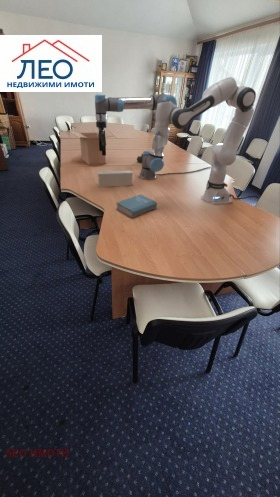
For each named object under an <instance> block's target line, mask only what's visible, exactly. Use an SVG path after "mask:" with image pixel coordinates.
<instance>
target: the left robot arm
mask: <svg viewBox="0 0 280 497" xmlns="http://www.w3.org/2000/svg"><path fill="white" fill-rule="evenodd" d="M162 100H170V101H171V102H172V103H173V104H174V105H176V106H178V101H177V99H176V97H175V96H174V95H172V94H166V93H160V94H154V95H153V94H152V95H150V96H130V97H128V96H127V97H126V96H125V97H111V96H109V97H107V95H106V94H99V93H96V94H95V95H94V109H95V127H96V128H97V129H98V132H99V136H98V140H99V141H100V142H99V151H102V155H105V156H107V139H106V138H107V137H106V138H105V133H106V130H105V129H106V128H107V127H108V123H107V122H108V121H107V120H108V119H107V118H108V115H107V113H109V112H113V113H115V112H116V113H122V112H124V110H149V111H156V109H157V105H158V103H159V102H160V101H162ZM160 149H161V148H159V149H158V156H155V151H154V149H152V148H151V150H143V152H142V154H143V155H142V154H141V156H143V158H142V163H141V169H140V172H139V178H140V179H142V180H146V181H154V180H156V178H157V176H165V175H178V174H179V175H180V174H181V175H182V172H166V173H162V174H161V173H157V172H160V171H161V170H163V168H164V166H165V162H164V160H163V159H164V156H165V155H164V154H163V153H164V152H163V153H160ZM205 169H211V166H207V167H204V168H201V169H197V170H193V171H184V172H183V174H190V173H196V172H200V171H202V170H205Z"/></svg>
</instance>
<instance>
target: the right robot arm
mask: <svg viewBox="0 0 280 497" xmlns="http://www.w3.org/2000/svg"><path fill="white" fill-rule="evenodd" d="M256 98H257V93H256V91H255V89H253V88H252V87H249V86H246V85H245V86H244V85H242V86H240V85H239V86H238V83H237V81H236V78H234V77H232V76H231V77H230V76H229V77H226V78H223V79H222V80H219V81H217V82H215V83H213V84H211V85H209V87H207V88H206V89H205V90H204V91H203V93H202V97H201V99H200V100H198V101H197V102H196V103H194V104H193V105H190V106H189V107H186V108H182V107H179V106H178V105H177V106H176V105H174V104H173V103H172V102H171V101H170V100H162V101H160V102H159V103H158V105H157V109H156V110H155V123H154V131H153V134H154V135H153V137H152V143H151V150H152V149H154V151H155V156H158V149H159V148H161V149H160V153H164V149H165V146H167V145H168V141H169V136H170V132H171V129H170V125H172V126H174V127H175V129H178V130H183V129H185V128H186V127H187V126H189V124H190V123H191V122H192V121H193V120H194V119H196V118H198V117H199V116H201V115H202V114H205V112H207V111H209V110H210V109H213V108H215V107H217V106H219V105H221V104H222V103H224V102H225V103H226V105H227V106H228V107H230V108H234V109H235V111H234V115H233V117H232V119H231V120H230V122H229V125H228V126H227V129H226V131H225V132H224V138H223V142H222V143H217V144H215V145H214V146H213V147H212V149H211V165H210V172H209V177H208V180H207V181H206V182H207V183H206V187H205V190H204V192H203V195H202V197H201V199H202V200H203V201H204V202H207V203H211V204H212V205H223V204H224V205H225V204H226V205H227V204H232V199H233V200H243V199H245V200H246V199H247V198H256V199H259V196H257V195H247V196H244V197H235V196H234V195H233V194H231V193H230V192H229V191H228V190H227V188H228V187H229V185H228V184H227V183H226V182H225V179H226V175H227V167H229V166H231V165H233V164H234V163H235V161H236V159H237V152H238V148H239V146H240V143H241V140H242V138H243V136H244V134H245V133H246V131H247V128H248V127H249V124H250V123H251V120H252V118H253V116H254V112H255V109H254V104H255V101H256ZM231 197H232V198H231Z"/></svg>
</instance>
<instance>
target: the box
mask: <svg viewBox="0 0 280 497" xmlns="http://www.w3.org/2000/svg"><path fill="white" fill-rule="evenodd" d="M70 133H71V134H72V135H74V136H75V137H77V138H79V144H80V153H81V160H83V162H85V163H86V165H87V166H95V165H97V166H98V165H106V163H107V162H106V158H107V157H106V155H102V151H99V142H100V141H99V140H98V136H99V131H98V132H96V131H95V130H92V129H91V130H77V132H76V131H70ZM113 137H114V136H113V135H111V134H109V133H108V132H105V138H113Z"/></svg>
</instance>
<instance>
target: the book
mask: <svg viewBox="0 0 280 497" xmlns="http://www.w3.org/2000/svg"><path fill="white" fill-rule="evenodd" d="M115 204H116V210H117V211H119V212H121V213H122V214H124V215H126V216H128V217H129V218H130V219H131V218H134V217H137V216H141V215H142V214H145V213H147V212H150V211H153V210H155V209H157V206H158V202H157V201H156V200H154V199H151V197H150V198H149V197H147V196H145V195H143V194H137V195H134V196H131V197H128V198H126V199H123V200H119V201H117V202H116V203H115Z"/></svg>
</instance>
